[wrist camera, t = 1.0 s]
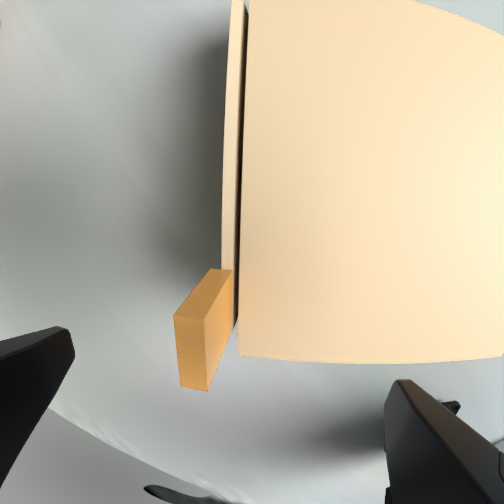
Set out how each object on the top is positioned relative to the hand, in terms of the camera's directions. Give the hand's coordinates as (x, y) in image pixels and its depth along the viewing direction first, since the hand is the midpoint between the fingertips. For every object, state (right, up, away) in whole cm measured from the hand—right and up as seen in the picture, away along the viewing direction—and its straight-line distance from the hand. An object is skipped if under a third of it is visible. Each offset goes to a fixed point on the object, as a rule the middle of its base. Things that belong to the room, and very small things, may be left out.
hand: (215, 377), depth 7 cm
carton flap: (+1, +8, +11) cm, 14 cm away
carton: (+9, +8, +10) cm, 16 cm away
